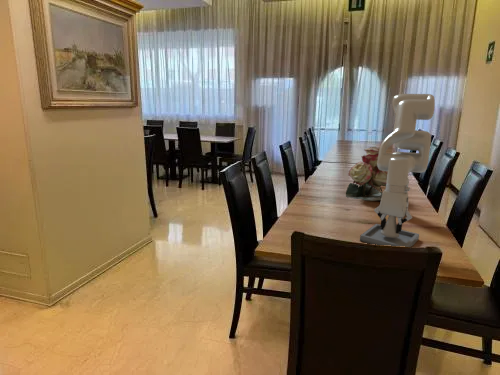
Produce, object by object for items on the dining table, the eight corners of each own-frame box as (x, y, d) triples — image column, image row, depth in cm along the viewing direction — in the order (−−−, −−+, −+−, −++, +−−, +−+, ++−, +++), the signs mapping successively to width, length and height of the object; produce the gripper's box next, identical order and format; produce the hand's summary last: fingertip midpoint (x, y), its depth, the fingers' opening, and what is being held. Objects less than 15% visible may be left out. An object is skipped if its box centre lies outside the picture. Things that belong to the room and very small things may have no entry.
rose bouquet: (343, 199, 197) (347, 148, 190) (352, 188, 222) (356, 142, 215) (389, 205, 186) (396, 152, 178) (394, 193, 211) (400, 145, 203)
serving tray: (375, 228, 152) (376, 223, 151) (418, 239, 141) (419, 233, 140) (359, 240, 139) (360, 235, 138) (405, 253, 128) (406, 247, 127)
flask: (394, 231, 143) (397, 209, 140) (402, 238, 136) (405, 214, 133) (377, 231, 143) (380, 209, 140) (385, 238, 136) (387, 214, 133)
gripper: (421, 190, 132) (415, 233, 136) (377, 183, 142) (373, 223, 147) (416, 194, 126) (409, 238, 131) (371, 186, 137) (366, 228, 141)
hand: (390, 230), depth 139 cm, fingers closed on flask, 5 cm apart
